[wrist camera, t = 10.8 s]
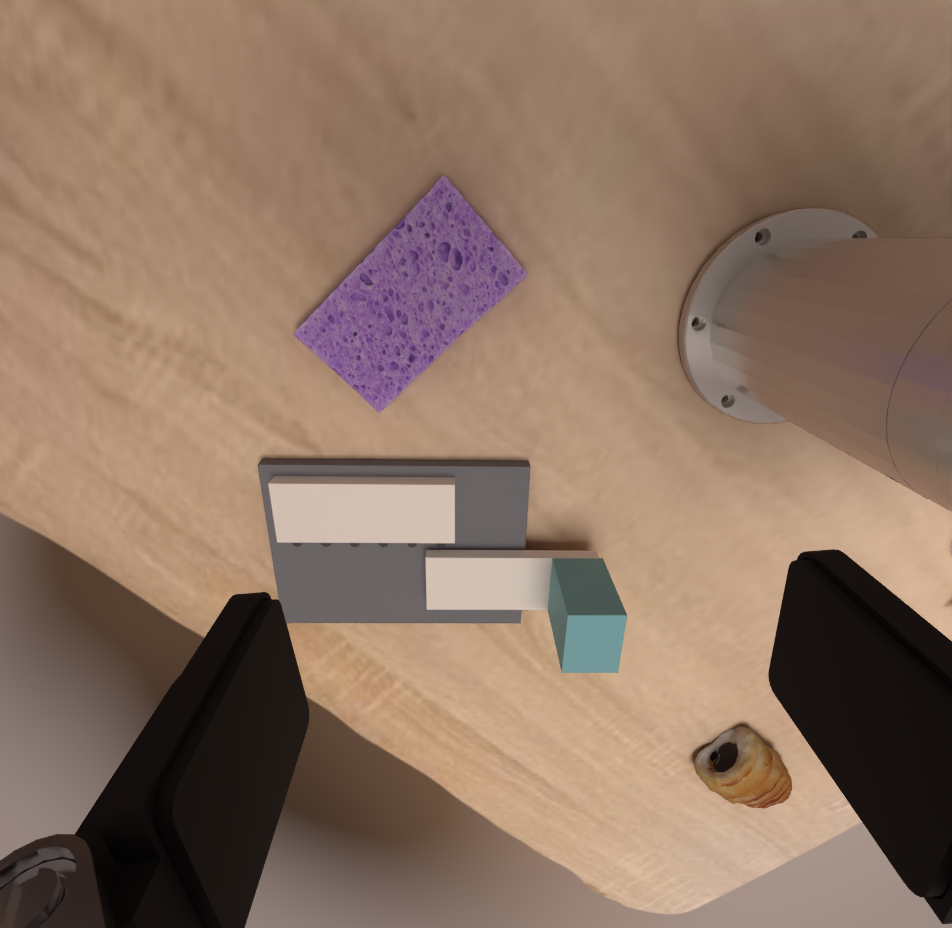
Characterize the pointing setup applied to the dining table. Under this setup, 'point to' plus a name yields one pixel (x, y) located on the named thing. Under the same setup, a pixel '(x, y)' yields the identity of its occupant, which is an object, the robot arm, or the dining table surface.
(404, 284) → the sponges
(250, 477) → the dining table surface
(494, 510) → the mat
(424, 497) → the ticket
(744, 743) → the pastry
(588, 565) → the stub
